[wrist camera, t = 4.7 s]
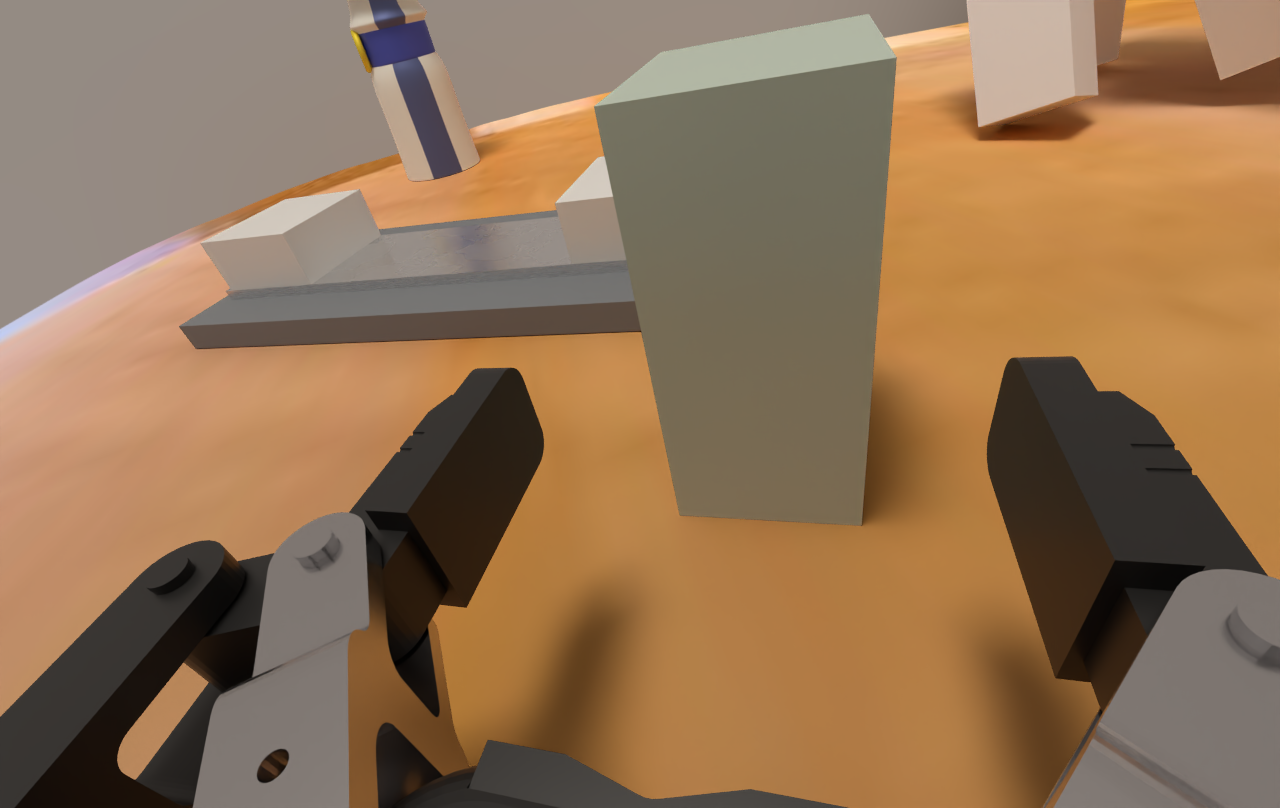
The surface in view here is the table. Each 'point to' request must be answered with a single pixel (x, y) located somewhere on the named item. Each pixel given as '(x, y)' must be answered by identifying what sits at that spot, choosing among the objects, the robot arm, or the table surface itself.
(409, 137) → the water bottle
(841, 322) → the tall block
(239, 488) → the table surface
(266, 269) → the rectangular blocks
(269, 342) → the grey board
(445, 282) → the mounting plate
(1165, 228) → the table surface
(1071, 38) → the white angular blocks
